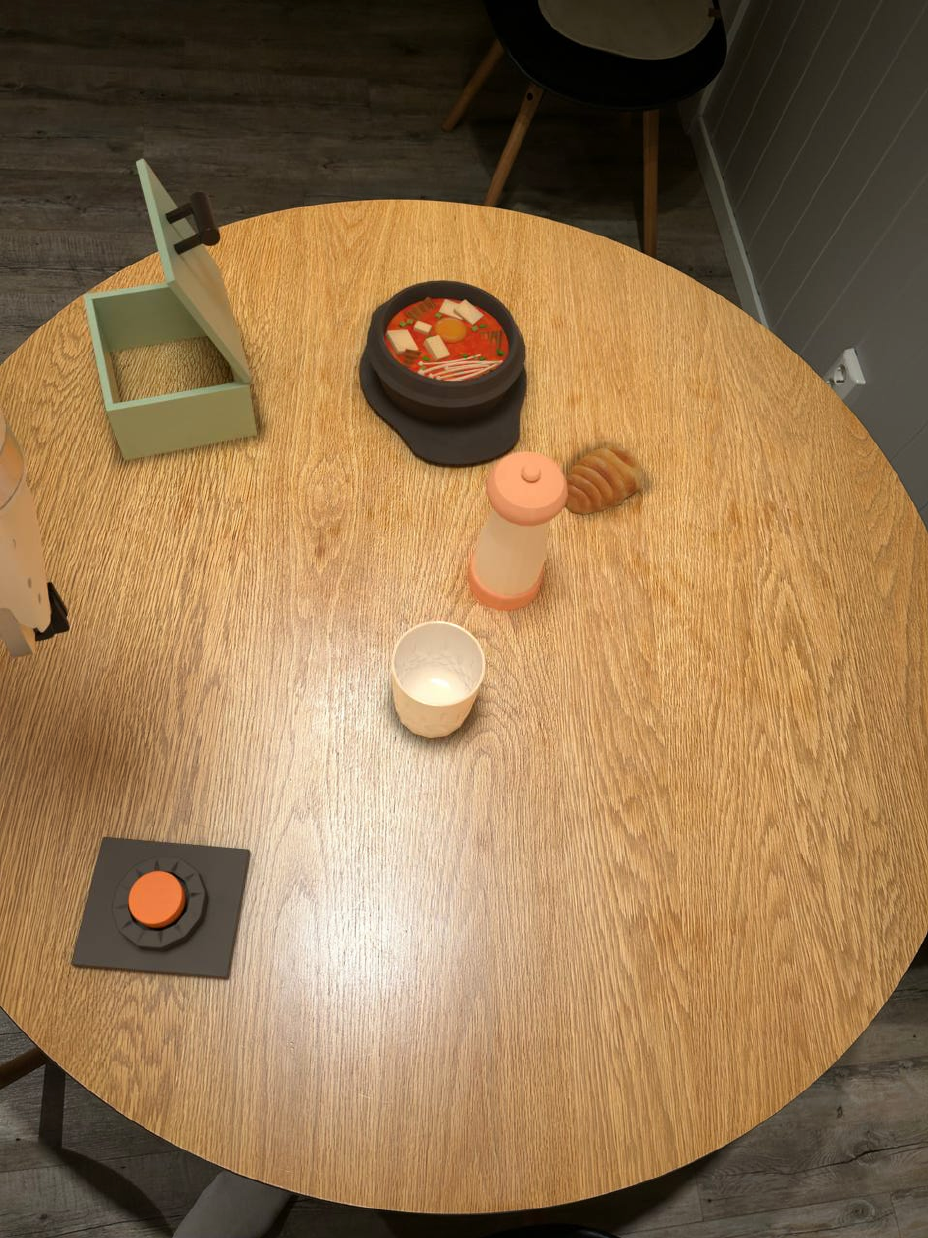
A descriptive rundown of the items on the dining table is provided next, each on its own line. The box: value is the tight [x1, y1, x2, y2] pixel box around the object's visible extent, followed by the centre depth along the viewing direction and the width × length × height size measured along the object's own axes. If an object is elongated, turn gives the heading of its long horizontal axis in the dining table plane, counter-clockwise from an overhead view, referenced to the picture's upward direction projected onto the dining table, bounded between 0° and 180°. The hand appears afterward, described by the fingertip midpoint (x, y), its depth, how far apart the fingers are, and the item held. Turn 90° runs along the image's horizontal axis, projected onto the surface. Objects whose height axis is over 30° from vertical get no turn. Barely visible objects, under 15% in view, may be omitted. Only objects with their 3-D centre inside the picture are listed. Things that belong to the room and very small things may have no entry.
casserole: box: [358, 279, 528, 465], centre depth 102 cm, size 25×19×8 cm
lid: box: [135, 158, 253, 383], centre depth 88 cm, size 14×16×5 cm
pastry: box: [564, 443, 645, 516], centre depth 99 cm, size 9×7×4 cm
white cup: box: [390, 620, 486, 739], centre depth 83 cm, size 8×8×10 cm
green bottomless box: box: [82, 281, 258, 461], centre depth 97 cm, size 14×16×9 cm
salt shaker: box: [467, 450, 568, 612], centre depth 86 cm, size 7×7×19 cm
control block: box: [70, 836, 252, 980], centre depth 75 cm, size 12×10×4 cm
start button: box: [128, 871, 186, 928], centre depth 73 cm, size 4×4×2 cm
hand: (44, 625), depth 62 cm, fingers closed
